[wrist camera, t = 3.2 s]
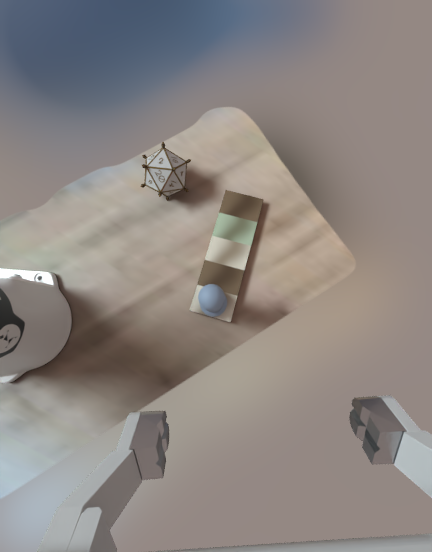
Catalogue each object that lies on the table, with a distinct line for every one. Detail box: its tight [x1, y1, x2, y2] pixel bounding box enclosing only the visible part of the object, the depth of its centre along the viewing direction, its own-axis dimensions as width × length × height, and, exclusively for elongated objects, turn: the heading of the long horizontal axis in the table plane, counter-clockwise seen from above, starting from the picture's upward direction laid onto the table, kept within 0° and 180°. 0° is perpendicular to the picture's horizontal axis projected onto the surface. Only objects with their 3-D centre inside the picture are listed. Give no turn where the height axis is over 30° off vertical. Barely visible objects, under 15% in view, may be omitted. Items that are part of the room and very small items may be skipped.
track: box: [190, 190, 263, 322], centre depth 43 cm, size 7×22×1 cm, turn 164°
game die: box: [141, 142, 191, 201], centre depth 43 cm, size 9×8×10 cm
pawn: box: [198, 284, 227, 317], centre depth 36 cm, size 4×4×11 cm
